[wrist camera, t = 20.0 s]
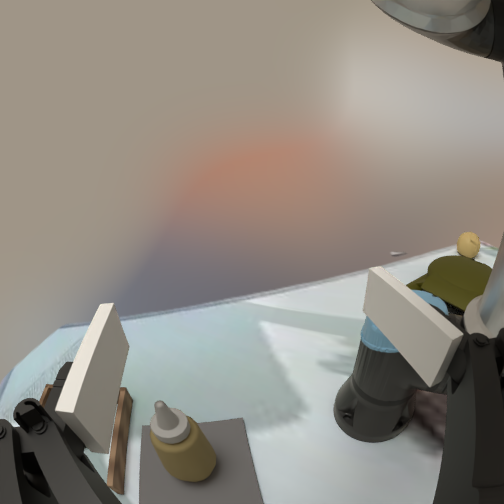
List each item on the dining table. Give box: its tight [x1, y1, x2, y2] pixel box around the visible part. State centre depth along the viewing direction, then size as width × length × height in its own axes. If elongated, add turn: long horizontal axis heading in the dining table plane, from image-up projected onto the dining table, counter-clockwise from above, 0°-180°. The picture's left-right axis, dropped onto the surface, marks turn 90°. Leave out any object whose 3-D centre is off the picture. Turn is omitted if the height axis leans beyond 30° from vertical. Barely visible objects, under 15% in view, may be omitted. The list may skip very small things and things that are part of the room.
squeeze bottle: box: [149, 401, 216, 482], centre depth 28 cm, size 8×8×18 cm
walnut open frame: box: [39, 384, 133, 495], centre depth 33 cm, size 22×20×4 cm
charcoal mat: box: [139, 418, 263, 504], centre depth 32 cm, size 18×18×1 cm
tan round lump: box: [457, 232, 480, 258], centre depth 93 cm, size 11×12×11 cm
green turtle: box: [406, 256, 492, 312], centre depth 69 cm, size 35×31×10 cm
